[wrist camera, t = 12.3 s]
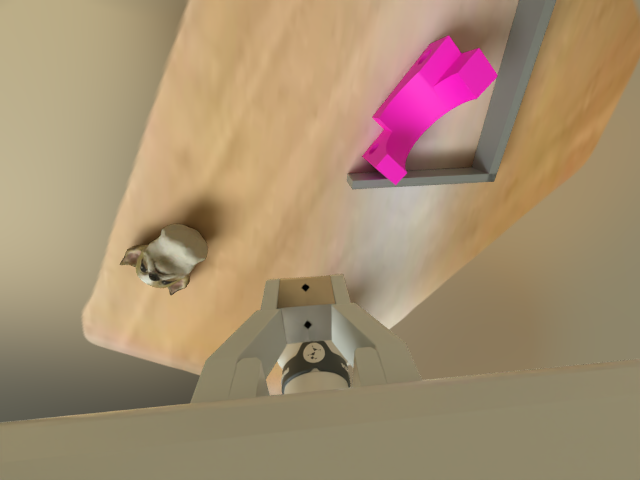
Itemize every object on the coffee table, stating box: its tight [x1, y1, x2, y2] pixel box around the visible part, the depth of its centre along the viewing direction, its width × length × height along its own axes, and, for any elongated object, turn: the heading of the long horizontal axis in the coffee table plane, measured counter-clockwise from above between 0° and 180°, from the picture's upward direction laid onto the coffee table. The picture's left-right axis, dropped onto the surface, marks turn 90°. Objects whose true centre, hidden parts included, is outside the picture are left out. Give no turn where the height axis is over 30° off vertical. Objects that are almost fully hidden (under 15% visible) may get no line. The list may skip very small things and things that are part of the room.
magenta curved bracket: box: [362, 35, 498, 185], centre depth 30 cm, size 15×6×8 cm, turn 141°
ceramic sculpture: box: [120, 224, 208, 295], centre depth 37 cm, size 11×9×15 cm
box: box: [347, 0, 556, 189], centre depth 29 cm, size 26×21×4 cm
